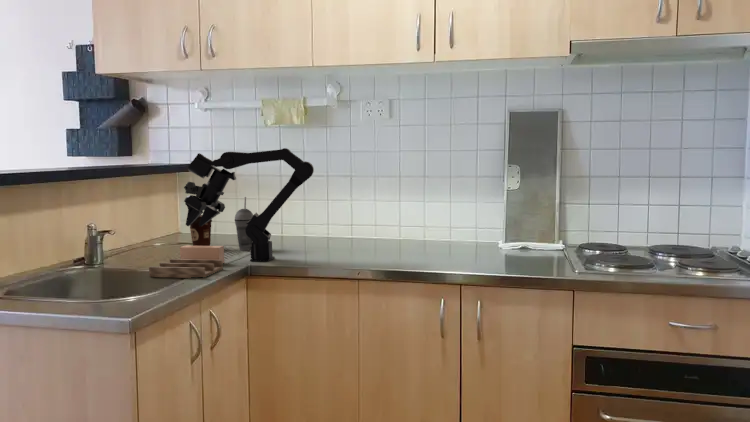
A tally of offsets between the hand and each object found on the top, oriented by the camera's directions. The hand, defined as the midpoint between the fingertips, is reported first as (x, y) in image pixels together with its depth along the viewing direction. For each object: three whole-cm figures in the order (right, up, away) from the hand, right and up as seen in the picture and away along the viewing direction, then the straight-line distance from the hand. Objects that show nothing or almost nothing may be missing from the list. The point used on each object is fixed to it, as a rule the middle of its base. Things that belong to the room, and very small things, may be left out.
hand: (193, 225), depth 203 cm
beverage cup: (+13, -10, +23) cm, 28 cm away
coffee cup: (-5, -10, +27) cm, 29 cm away
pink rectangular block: (+3, -13, -1) cm, 13 cm away
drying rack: (+2, -14, -15) cm, 21 cm away
